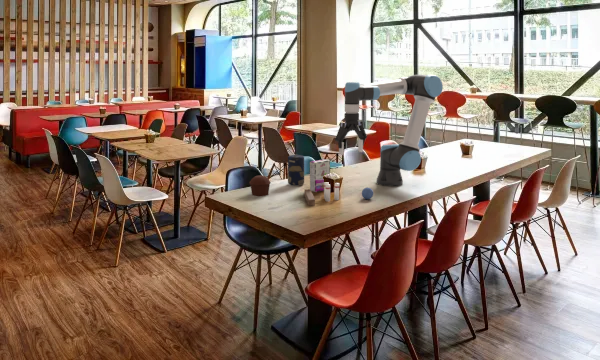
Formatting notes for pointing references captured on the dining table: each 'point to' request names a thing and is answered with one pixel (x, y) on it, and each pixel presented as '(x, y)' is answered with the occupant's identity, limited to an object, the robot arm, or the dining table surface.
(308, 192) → the back wall
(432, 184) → the dining table surface
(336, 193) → the front pin
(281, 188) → the dining table surface
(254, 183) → the muffin
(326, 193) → the pin
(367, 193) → the ball
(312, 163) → the candy bar box
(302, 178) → the canister
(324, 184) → the pin
